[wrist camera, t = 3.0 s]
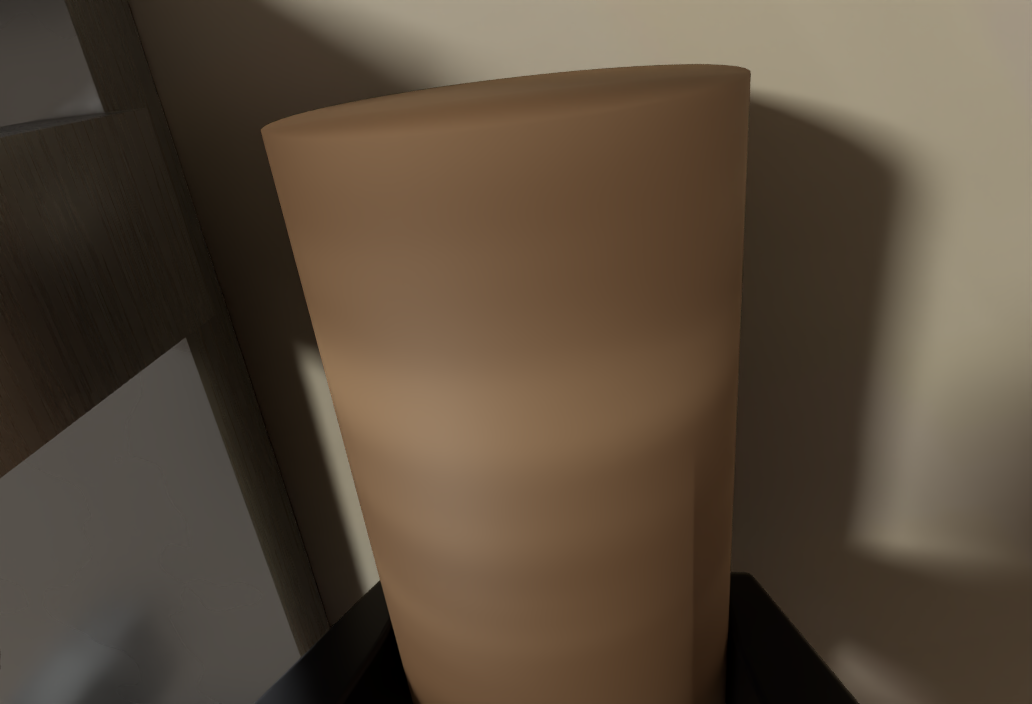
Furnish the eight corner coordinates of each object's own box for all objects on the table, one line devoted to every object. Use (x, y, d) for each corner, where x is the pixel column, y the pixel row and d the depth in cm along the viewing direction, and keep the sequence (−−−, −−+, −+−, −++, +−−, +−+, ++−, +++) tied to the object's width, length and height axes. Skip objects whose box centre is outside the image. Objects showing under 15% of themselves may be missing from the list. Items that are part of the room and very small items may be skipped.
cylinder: (352, 95, 8) (152, 162, 4) (705, 55, 7) (822, 92, 4) (492, 782, 13) (457, 1058, 10) (696, 788, 13) (738, 1082, 9)
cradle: (128, -135, 7) (-510, -333, 3) (421, 846, 15) (352, 1150, 11) (-449, -32, 8) (-1427, -75, 4) (102, 821, 16) (-64, 1085, 12)
